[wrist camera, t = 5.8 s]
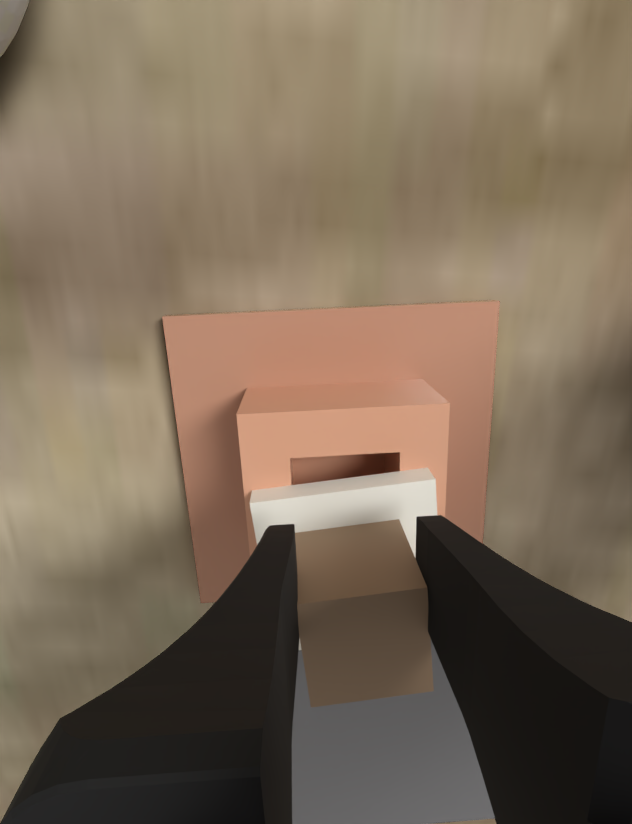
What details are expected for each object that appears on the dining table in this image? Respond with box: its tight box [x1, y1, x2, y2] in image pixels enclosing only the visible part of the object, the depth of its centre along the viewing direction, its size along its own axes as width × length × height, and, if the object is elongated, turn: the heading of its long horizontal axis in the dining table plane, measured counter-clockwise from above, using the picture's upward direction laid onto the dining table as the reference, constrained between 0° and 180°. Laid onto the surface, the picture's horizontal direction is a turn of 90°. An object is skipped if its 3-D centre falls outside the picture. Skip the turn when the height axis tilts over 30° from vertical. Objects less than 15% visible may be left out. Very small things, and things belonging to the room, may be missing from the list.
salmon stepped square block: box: [162, 300, 500, 603], centre depth 16 cm, size 11×11×4 cm
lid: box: [250, 468, 437, 707], centre depth 13 cm, size 5×5×4 cm
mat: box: [292, 640, 495, 824], centre depth 21 cm, size 12×12×1 cm
